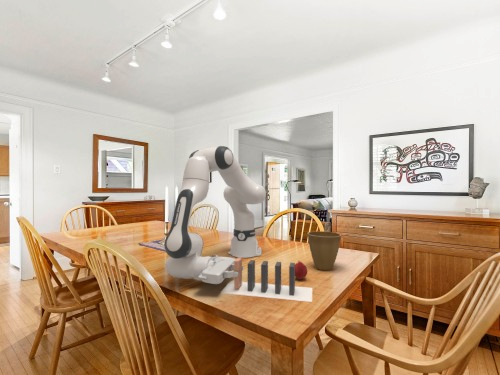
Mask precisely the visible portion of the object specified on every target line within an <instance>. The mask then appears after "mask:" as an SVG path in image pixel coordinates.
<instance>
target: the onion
mask: <svg viewBox="0 0 500 375" xmlns="http://www.w3.org/2000/svg"><path fill="white" fill-rule="evenodd" d="M307 275H308V269H307V266H306V265H305V263H303V262H302V261H301V260H297V263H295V279H297V280H298V281H301V280H303V279H305V277H307Z"/></svg>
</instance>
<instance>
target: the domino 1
mask: <svg viewBox="0 0 500 375" xmlns="http://www.w3.org/2000/svg"><path fill="white" fill-rule="evenodd" d="M247 282H248V291H250V292H252V291H253V289H254V287H255V283H256V260H255V259H250V260H249V262H248V263H247Z"/></svg>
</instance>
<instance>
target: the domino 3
mask: <svg viewBox="0 0 500 375" xmlns="http://www.w3.org/2000/svg"><path fill="white" fill-rule="evenodd" d="M274 285H275V294H280V291H281V285H282V261H276V263H275V266H274Z"/></svg>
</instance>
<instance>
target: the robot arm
mask: <svg viewBox="0 0 500 375" xmlns="http://www.w3.org/2000/svg"><path fill="white" fill-rule="evenodd" d="M216 171H217V172H218V174H219V175H220V177H221V178H222V180H223V181H224V183H225V185H227V186H225V188H224V189H223V198H224V200H225V201H226V202H227V203H228V204H229V206H230V208H231V209H232V213H233V214H232V215H233V221H234V222H233V223H234V224H233V225H234V228H233V237H231V239H230V250H229V251H228V253H227V254H228V255H231V256H232V257H229V256H219V255H217V254H212V255H209V256H202V253H203V249H204V240H203V237H202V236H201V235H200V234H199V233H197V232H192V231H191V232H190V231H189V226H190V222H191V216H192V215H191V214H192V210H193V208H194V207H195V206H196V205H197V204H199V203H202V202H203V201H204V200H205V199H206V198H207V197H208V194H209V189H210V187H209V186H210V179H211V178H210V177H211V176H210V173H212V172H216ZM182 177H183V178H182V184H181V189H180V192H179V193H178V196H177V198H176V201H175V202H176V203H175V207H174V211H173V215H172V220H171V225H170V228H169V230H168V233H167V235H166V236H165V239H164V245H163V246H164V249H165V250H164V251H165V253H166V254H167V256H168V257H167V259H166V260H165V261H166V262H165V269H166V272H167V274H168V275H169V276H171V277H173V278H176V279H184V280H185V279H186V280H189V279H192V280H196V281H202V283H207V284H210V285H211V284H212V285H219V284H222V282H223V281H224V280H225V279H230V278H234V277H238V275H239V272H238V271H234V261H235V260H236V259H237V258H238V257H240V258H242V259H243V258H244V259H246V258H253V257H259V256H262V247H261V246H259V245H258V244H259V243H258V238H257V237H256V227H255V215H254V213H253V212H252V211H250V210H249V208H248V206H247V205H259V204H262V203H264V201H265V199H266V197H267V191H266V189H265V187H264V186H263V185H261V184H259V183H257V182H256V181H254V180H253V179H251V178H250V177H249V175H247V174H246V173H245V172H244V170H243V168H242V167H241V165H240V163H239V161H238V159H237V158H236V156H235V155H234V154H233V152H232V150H231V149H230V148H229V147H227V146H224V145H220V146H210V147H207V148H203V149H200V150H199V149H198V150H195V151H193V152H192V153H191V154H190V155H189V157H188V159H187V161H186V164H185V168H184V171H183V176H182ZM235 257H236V258H235ZM243 271H244V265H242V272H243Z"/></svg>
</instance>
